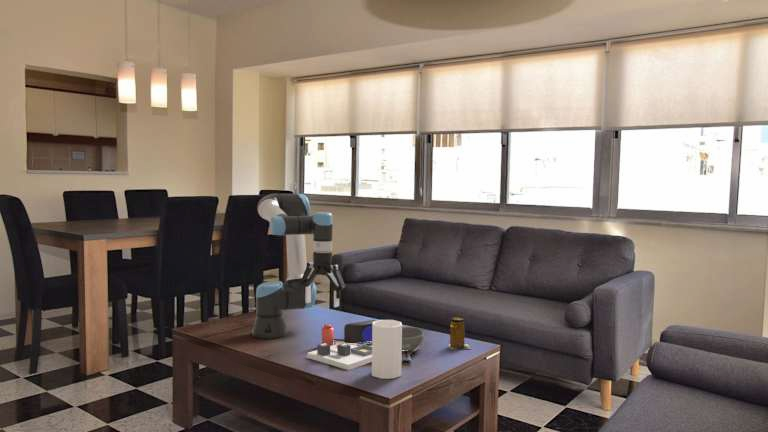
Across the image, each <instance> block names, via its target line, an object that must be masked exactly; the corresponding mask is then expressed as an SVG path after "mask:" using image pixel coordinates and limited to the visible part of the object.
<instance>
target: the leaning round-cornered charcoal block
mask: <svg viewBox="0 0 768 432" xmlns="http://www.w3.org/2000/svg"><path fill="white" fill-rule="evenodd" d="M374 321H377V320H376V319H371V320H364V321H357V322H350V323H346V324H345V325H344V327H343V330H344V331H343V336H344V337H343V342H345V343H357V342H365V341H366V342H367V341H372V322H374Z"/></svg>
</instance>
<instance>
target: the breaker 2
mask: <svg viewBox="0 0 768 432" xmlns="http://www.w3.org/2000/svg"><path fill="white" fill-rule="evenodd" d="M338 354H339V355H343V356H347V355H350V345H347V344H340V345H338Z"/></svg>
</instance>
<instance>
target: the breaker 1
mask: <svg viewBox="0 0 768 432" xmlns="http://www.w3.org/2000/svg"><path fill="white" fill-rule="evenodd" d="M316 348H317V349H316V350H317V354H320V355H323V356H326V355H329V354H330V345H328V344H326V343H322V342H321V343H320V344H317V345H316Z"/></svg>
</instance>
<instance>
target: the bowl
mask: <svg viewBox="0 0 768 432" xmlns="http://www.w3.org/2000/svg"><path fill="white" fill-rule="evenodd" d="M424 335H425V332H424V331H423V330H422V329H421V328H419V327H416V326H415V327H414V326H411V327H410V326H405V327H404V326H402V350H408V351H407V352H412V351H414V350H416V349H419V347H420V346H421V345H422V343H423V340H424V337H425V336H424Z"/></svg>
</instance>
